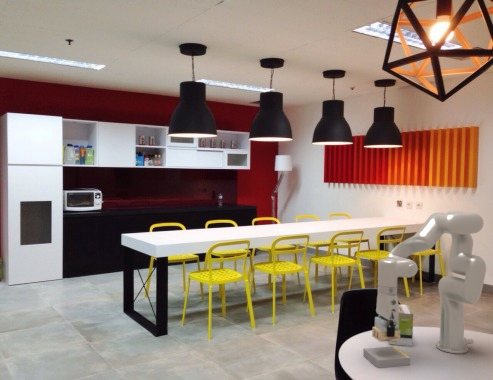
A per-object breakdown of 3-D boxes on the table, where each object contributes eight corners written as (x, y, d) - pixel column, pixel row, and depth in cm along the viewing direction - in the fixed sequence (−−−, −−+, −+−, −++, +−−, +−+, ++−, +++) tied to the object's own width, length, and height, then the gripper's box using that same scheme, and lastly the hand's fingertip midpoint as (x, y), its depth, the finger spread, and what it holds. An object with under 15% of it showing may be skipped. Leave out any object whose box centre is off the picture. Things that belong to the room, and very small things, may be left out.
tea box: (413, 346, 195) (413, 313, 194) (389, 344, 197) (390, 312, 196) (407, 334, 209) (408, 304, 209) (385, 333, 211) (386, 302, 211)
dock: (393, 353, 187) (393, 346, 187) (410, 365, 175) (410, 357, 175) (363, 355, 184) (363, 348, 184) (377, 368, 172) (378, 360, 172)
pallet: (392, 335, 183) (392, 316, 183) (400, 340, 177) (400, 320, 177) (372, 336, 181) (372, 317, 181) (379, 341, 175) (380, 321, 175)
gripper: (407, 294, 171) (406, 340, 172) (384, 284, 188) (383, 326, 188) (390, 295, 169) (389, 341, 170) (368, 284, 186) (367, 327, 187)
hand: (386, 333), depth 179 cm, fingers closed on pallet, 6 cm apart
